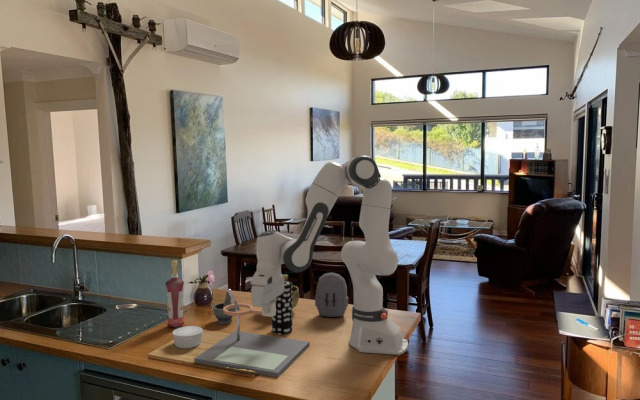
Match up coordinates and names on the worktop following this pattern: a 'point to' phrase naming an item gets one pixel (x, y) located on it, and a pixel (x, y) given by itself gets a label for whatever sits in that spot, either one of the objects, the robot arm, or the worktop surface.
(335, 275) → the grey rounded bag
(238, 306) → the bent wire
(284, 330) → the white-spotted black cylinder
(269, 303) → the ring wand
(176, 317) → the liquor
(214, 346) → the wire board
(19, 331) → the worktop surface
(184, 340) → the ramekin
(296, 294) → the olive round bowl
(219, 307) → the mortar and pestle
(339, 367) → the worktop surface
